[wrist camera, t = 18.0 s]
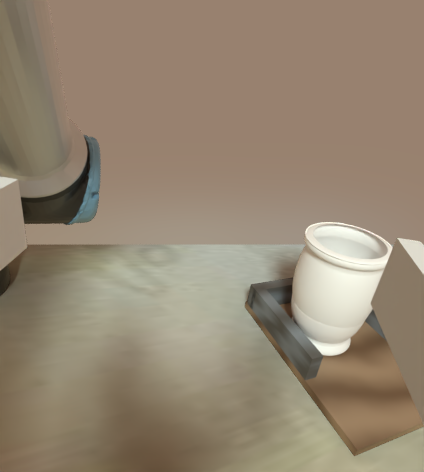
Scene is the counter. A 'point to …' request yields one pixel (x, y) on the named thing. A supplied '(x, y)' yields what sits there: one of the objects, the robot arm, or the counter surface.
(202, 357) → the counter surface
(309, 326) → the jar
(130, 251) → the counter surface
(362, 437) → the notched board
